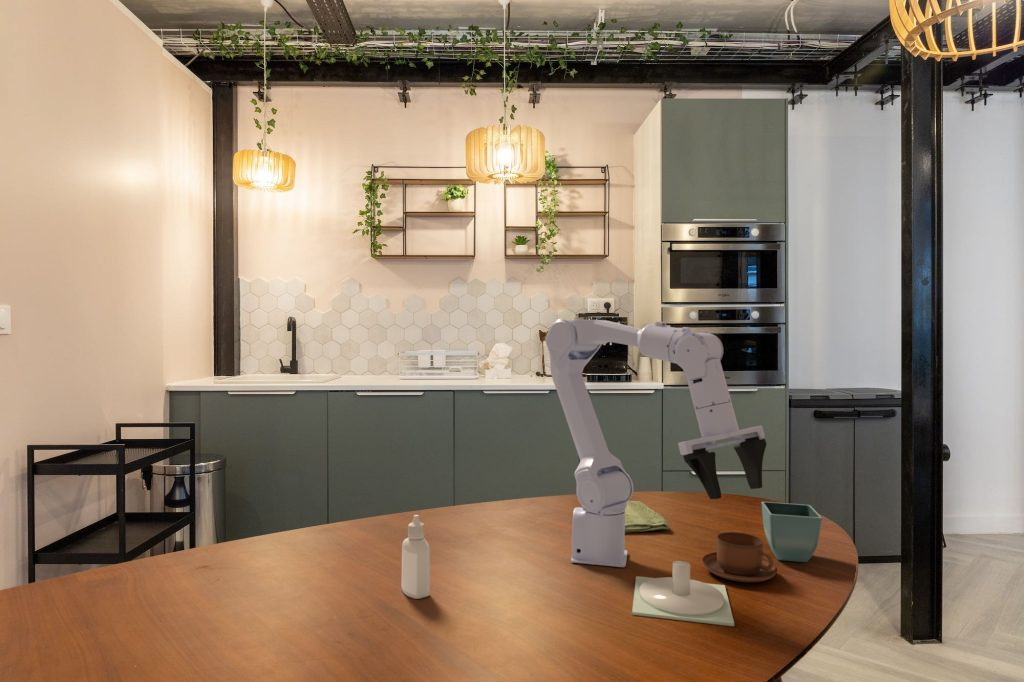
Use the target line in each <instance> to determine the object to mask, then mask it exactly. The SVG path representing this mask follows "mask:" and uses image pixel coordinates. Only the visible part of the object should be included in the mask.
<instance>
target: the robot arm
mask: <svg viewBox="0 0 1024 682" xmlns="http://www.w3.org/2000/svg"><path fill="white" fill-rule="evenodd" d="M544 341H545V343H546V347H547V350H548V353H549V358H550V360H549V361H550V362H549V363H550V364H549V365H550V374H551V378H552V381H553V383H554V387H555V389H556V393H557V395H558V398H559V402H560V404H561V407H562V410H563V413H564V417H565V419H566V420H565V421H566V423H567V425H568V428H569V431H570V433H571V438H572V440H573V443H574V446H575V449H576V453H577V456H578V457H579V463H578V466H577V467H576V469H575V471H574V473H573V475H574V478H575V482H576V491H575V492H576V497H577V500H578V502H579V504H580V505H581V506H582V507H580V506H579V507H574V508H573V513H572V522H571V523H572V524H571V543H570V544H571V558H570V562H571V563H577V564H583V565H585V564H586V565H594V566H595V565H597V566H606V567H617V568H625V567H626V564H627V559H628V552H629V551H628V550H627V549H625V547H626V545H625V541H626V540H625V538H626V537H625V535H626V533H625V508H627V501H631V500H630V499H631V498H632V497H633V495H634V482H633V480H632V478H631V476H630V474H629V473H628V472H627V471H626V470H625V468H624V466H623V465H622V461H621V460H620V459H619V458H618V457H616V456H615V455H613V454H612V453H611V452H610V451H609V448H608V444H607V442H606V439H605V436H604V434H603V431H602V428H601V426H600V422H599V420H598V417H597V414H596V411H595V408H594V406H593V403H592V399H591V397H590V395H589V392H588V387H587V385H586V382H585V380H584V377H583V371H584V368H585V366H586V365H587V364H588V363H589V362H590V361H591V360H592V358H593V357H594V355H595V354H596V353H597V352H598V351H599V349H601V347H602V345H607V343H608V342H610V343H614V344H621V345H626V346H630V347H635V348H636V347H637V348H638V350H639V351H640V354H641V355H642V356H644V357H647V358H651V359H656V360H659V361H663V362H668V363H673V364H676V365H678V366H679V367H680V368H681V369H682V371H683V372H684V377H685V378H686V383H687V385H688V389H689V393H690V398H691V401H692V404H693V405H692V406H693V409H694V412H695V416H696V420H697V423H698V424H697V425H698V427H699V431H700V432H699V433H700V436H701V437H699V438H695V439H694V438H693V439H690V440H685V441H681V442H678V443H677V444H678V449H679V453H680V455H681V456H682V455H683V456H682V457H683V460H684V462H685V464H687V465H688V467H690V469H691V470H692V471H693V473H695V475H696V477H697V479H699V481H700V483H701V484H702V486H703V488H704V489H705V492H706V493H707V496H708V498H709V499H710V500H718V499H721V498H722V492H721V487H720V483H719V479H718V473H717V466H716V465H717V464H716V452H715V451H710V452H709V450H710V449H716V448H720V447H725V446H726V447H727V446H729V445H734V444H738V445H734V446H733V450H734V451H735V452H736V455H737V456H738V458H739V461H740V463H741V464H742V467H743V471H744V474H745V478H746V481H747V484H748V486H749V488H750V490H755V489H758V490H759V489H762V488H763V461H764V456H765V451H766V448H767V442H766V435H765V432H764V428H763V425H757V426H751V427H748V428H743V429H740V428H739V424H738V420H737V416H736V413H735V410H734V406H733V402H732V399H731V395H730V391H729V387H728V383H727V380H726V377H725V373H724V370H723V366H722V363H721V360H722V358H723V355H724V346H723V343H722V341H721V340H720V338H719V337H718V336H716V335H715V334H712V333H710V332H708V331H701V332H692V328H691V327H688V326H683V327H682V328H677V327H673V326H669V325H667V322H665V321H659V320H656V321H655V322H654V323H649V324H648V323H647V325H645V326H644V327H643V328H639V327H636V326H635V327H634V326H630V325H626V324H622V323H618V322H614V321H610V320H605V319H566V318H559V319H556V320H554V321H553V322H552V324H551V325H550V327H549V329H548V331H547V334H546V336H545V339H544ZM724 439H728V440H729V441H725V442H720V443H716V441H719V440H724Z"/></svg>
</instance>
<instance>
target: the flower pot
mask: <svg viewBox="0 0 1024 682" xmlns="http://www.w3.org/2000/svg"><path fill="white" fill-rule="evenodd" d="M761 514H762V524H763V530H764V535H765V538H766V540H767V543H768V545H769V547H770V549H771V551H772V553H773V555H774V556H775V558H776V560H778V561H785V562H798V563H799V562H800V563H808V561H809V560H810V559H811V558H812V556H813V555H814V553H815V552H816V549H817V548H818V546H819V545H818V544H819V540H820V534H821V533H820V532H821V528H822V520H823V517H822V516H821V515H820V514H819V512H817V511H816V510H815V508H813V506H812V505H810V504H804V503H786V502H784V503H783V502H775V501H774V502H773V501H761Z"/></svg>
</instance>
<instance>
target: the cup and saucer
mask: <svg viewBox="0 0 1024 682" xmlns="http://www.w3.org/2000/svg"><path fill="white" fill-rule="evenodd" d="M763 544H764V541H763V540H762V539H761V538H760V537H758V536H756V535H752V534H748V533H744V532H734V531H733V532H732V531H730V532H727V531H726V532H721V533H719V534H717V536H716V551H715V552H711V553H708V554H705V555H704V556H703V557H702V564H703V566H704V567H705V569H706V570H708V571H709V572H710V573H712V574H713V575H714V576H717V577H720V578H722V579H725V580H727V581H728V580H729V581H732V582H733V581H734V582H740V583H761V582H766V581H768V580H771V579H772V578H773V577H775V576H776V575H777V573H778V567H777V565H775V563H774V559H773V557H772V556H771V555H770V553H768V552H767V551H764V550H763ZM764 557H765V558H764Z"/></svg>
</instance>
